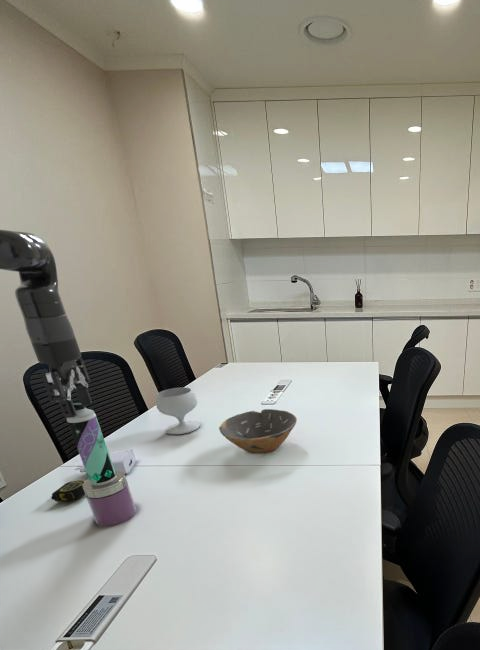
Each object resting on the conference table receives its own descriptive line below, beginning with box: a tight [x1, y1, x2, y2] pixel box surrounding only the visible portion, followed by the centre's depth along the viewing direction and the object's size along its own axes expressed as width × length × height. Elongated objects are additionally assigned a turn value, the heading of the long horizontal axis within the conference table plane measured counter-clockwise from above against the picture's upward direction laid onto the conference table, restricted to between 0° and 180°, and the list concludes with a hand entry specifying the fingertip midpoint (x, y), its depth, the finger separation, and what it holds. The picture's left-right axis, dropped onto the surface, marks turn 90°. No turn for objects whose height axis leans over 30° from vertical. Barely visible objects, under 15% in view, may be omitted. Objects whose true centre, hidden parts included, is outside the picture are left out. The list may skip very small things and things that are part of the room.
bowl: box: [218, 408, 298, 455], centre depth 131 cm, size 25×25×10 cm
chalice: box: [155, 387, 201, 435], centre depth 148 cm, size 14×14×15 cm
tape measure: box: [50, 479, 85, 502], centre depth 107 cm, size 7×7×4 cm
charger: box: [74, 449, 137, 475], centre depth 120 cm, size 5×9×15 cm
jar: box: [84, 482, 137, 527], centre depth 97 cm, size 9×9×10 cm
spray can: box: [66, 402, 117, 486], centre depth 91 cm, size 6×6×20 cm
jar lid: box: [82, 471, 128, 498], centre depth 96 cm, size 9×9×2 cm
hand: (79, 410), depth 88 cm, fingers open, 8 cm apart
